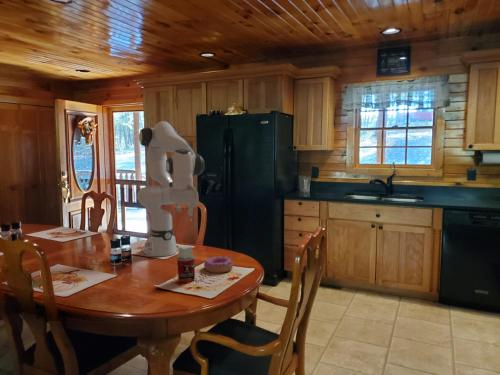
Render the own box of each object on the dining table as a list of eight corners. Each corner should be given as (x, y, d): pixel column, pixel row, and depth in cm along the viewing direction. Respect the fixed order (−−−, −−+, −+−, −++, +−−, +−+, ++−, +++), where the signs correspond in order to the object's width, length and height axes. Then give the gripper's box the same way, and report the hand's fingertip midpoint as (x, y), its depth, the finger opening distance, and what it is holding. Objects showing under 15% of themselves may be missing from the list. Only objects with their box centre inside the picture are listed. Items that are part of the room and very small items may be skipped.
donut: (219, 276, 177) (219, 266, 176) (198, 270, 186) (198, 260, 185) (238, 268, 188) (238, 258, 188) (217, 262, 197) (217, 253, 196)
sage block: (178, 256, 171) (178, 247, 171) (187, 254, 174) (186, 245, 174) (184, 259, 168) (184, 249, 167) (192, 256, 171) (192, 246, 170)
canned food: (178, 284, 167) (178, 260, 166) (177, 278, 175) (176, 255, 174) (196, 282, 169) (195, 258, 168) (193, 276, 177) (193, 253, 176)
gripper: (201, 186, 169) (202, 216, 171) (178, 181, 184) (178, 209, 186) (190, 187, 165) (190, 218, 167) (166, 182, 180) (167, 211, 182)
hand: (184, 213), depth 177 cm, fingers open, 8 cm apart
